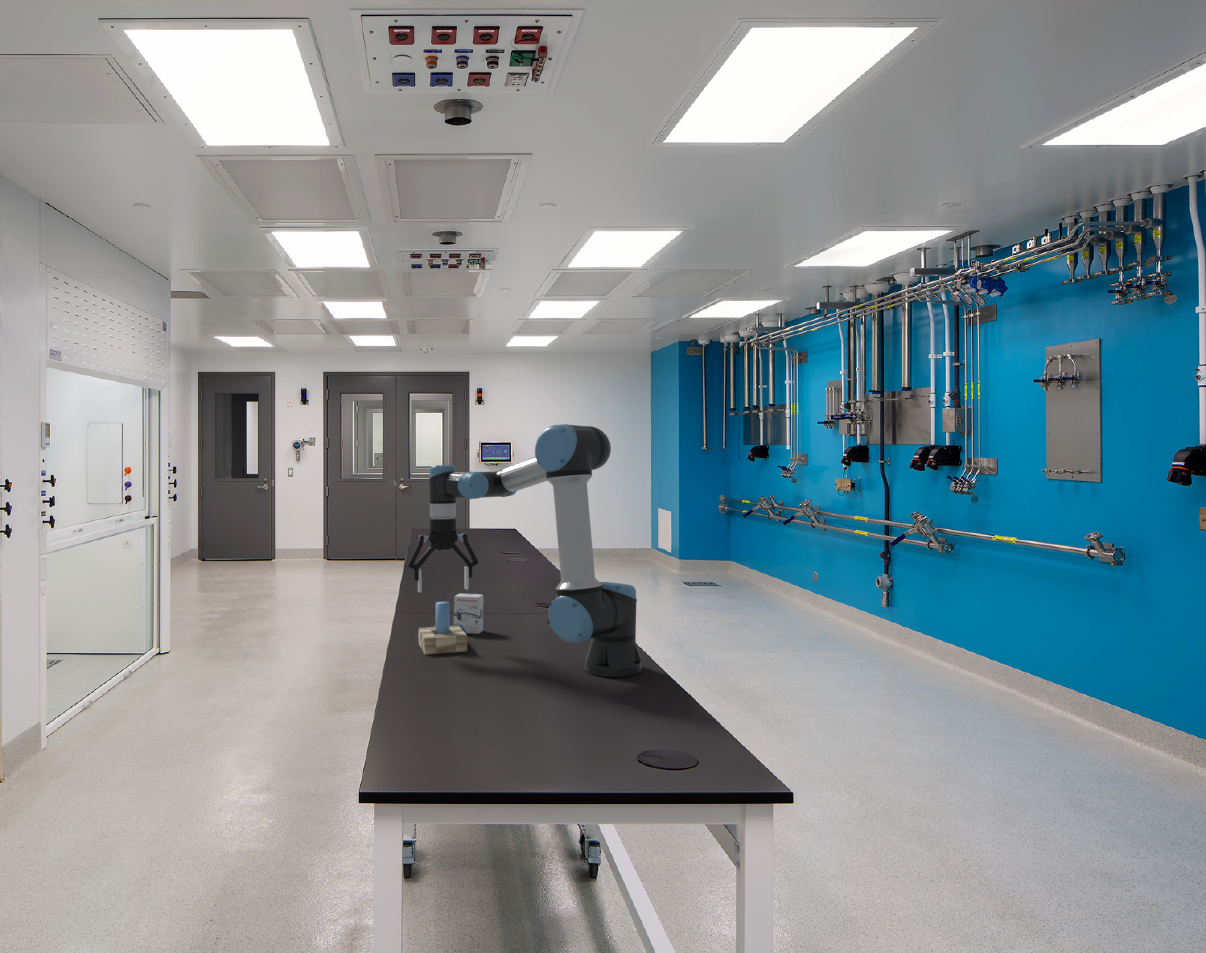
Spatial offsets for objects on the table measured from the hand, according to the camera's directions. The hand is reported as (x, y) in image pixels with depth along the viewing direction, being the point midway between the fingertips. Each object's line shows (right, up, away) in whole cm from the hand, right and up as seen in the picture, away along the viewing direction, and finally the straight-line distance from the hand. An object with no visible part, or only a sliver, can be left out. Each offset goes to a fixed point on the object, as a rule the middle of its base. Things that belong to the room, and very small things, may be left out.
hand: (443, 590), depth 226 cm
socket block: (-1, -17, +1) cm, 17 cm away
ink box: (+4, -16, +21) cm, 26 cm away
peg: (-1, -17, +1) cm, 17 cm away
